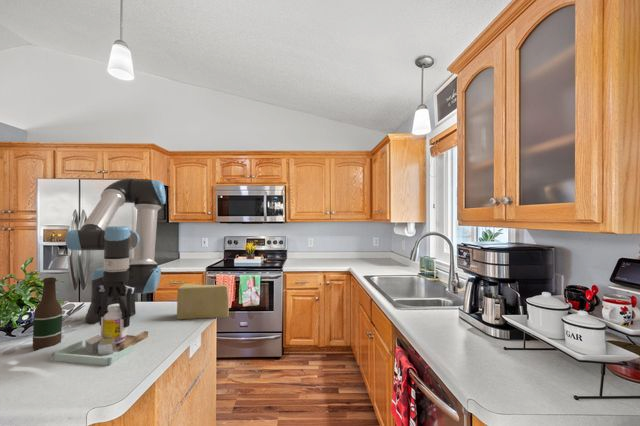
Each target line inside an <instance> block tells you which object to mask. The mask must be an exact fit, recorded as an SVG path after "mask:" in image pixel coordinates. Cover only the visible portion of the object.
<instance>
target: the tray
mask: <svg viewBox="0 0 640 426" xmlns="http://www.w3.org/2000/svg"><path fill="white" fill-rule="evenodd" d="M81 348H83V340H79V341H76V342H75V343H72V344H70V345H68V346H66V347H63V348H61V349H59V350H57V351H54V352H52V353H51V361H58V362H67V363H68V362H69V363H77V364H78V363H80V364H90V365H99V366H100V365H101V366H111V365H113V364H114V363H116V362H118V361H119V360H121V359H123V358H124V357H126V356H128V355H130V354H131V353H133V352H134V345H131V346H129V347H127V348H125V349H124V350H119V351H118V352H117V353H115V354H112V355H111V356H109V357H108V356H100V355H85V354H75V353H72V352H75V351H76V350H79V349H81Z"/></svg>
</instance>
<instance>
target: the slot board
mask: <svg viewBox="0 0 640 426" xmlns="http://www.w3.org/2000/svg"><path fill="white" fill-rule="evenodd" d="M102 337H103V336H102ZM148 337H149V331H146V330H145V331H142V332H140V333H138V334H136V335H129V334H128V335H126V336H125V340H124V341H123V342H121V343H119V344H116V349H115V351H122V350H124V349H125V348H127V347H129V346H131V345H136V344H138V343H139V342H141V341H143V340H145V339H147V338H148Z"/></svg>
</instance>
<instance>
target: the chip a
mask: <svg viewBox="0 0 640 426" xmlns="http://www.w3.org/2000/svg"><path fill="white" fill-rule="evenodd" d="M101 339H105V338H104V337H102V336H101V334H100V335H99V334H98V335H95V336H92V337H90V338H89V339H86V340H84V342H85V348H86V352H88V353H91V354H95V353H98V344H99V343H100V341H101Z"/></svg>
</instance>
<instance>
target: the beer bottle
mask: <svg viewBox="0 0 640 426" xmlns="http://www.w3.org/2000/svg"><path fill="white" fill-rule="evenodd" d="M42 282H43V287H42V293H41V295H42V296H41V300H40V302H39V303H38V304H37V306H36V307H35V309H34V313H33V325H32V327H33V331H32V348H33V351H34V352H36V351H37V352H38V351H39V350H43V349H46V348H50V347H54V346H57V345H58V344H60V343H62V334H63V333H62V332H63V331H62V329H63V308H62V306H61V304H60V302H58V300H57V295H56V294H57V288H56V282H57V279H56V277H51V276H50V277H45V278H43V280H42Z"/></svg>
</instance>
